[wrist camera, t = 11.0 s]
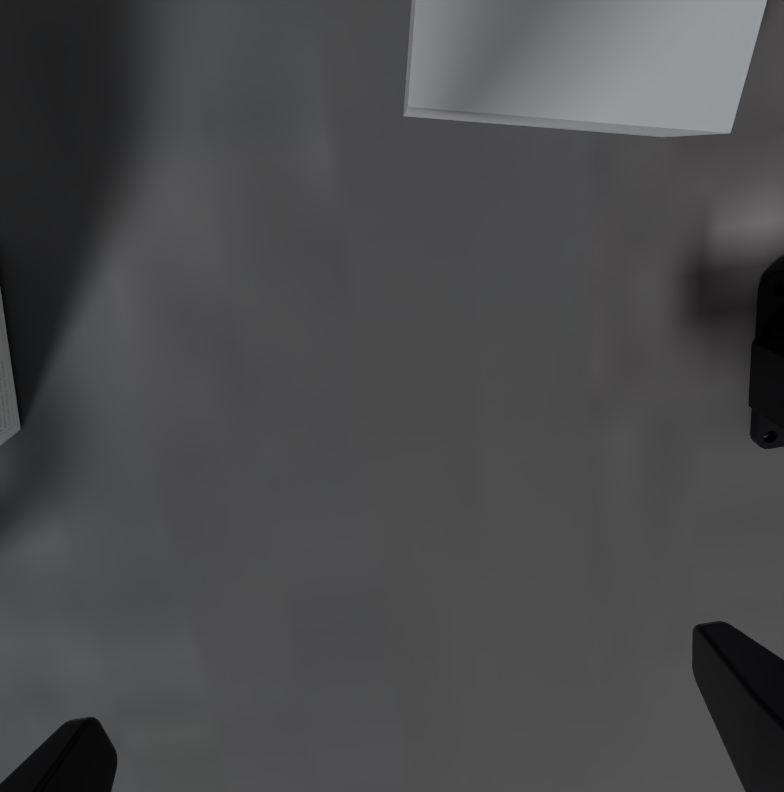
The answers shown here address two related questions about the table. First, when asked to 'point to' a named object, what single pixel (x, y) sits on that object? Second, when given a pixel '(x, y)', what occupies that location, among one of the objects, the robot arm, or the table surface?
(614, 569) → the table surface
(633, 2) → the slate block
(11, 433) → the supplement box
